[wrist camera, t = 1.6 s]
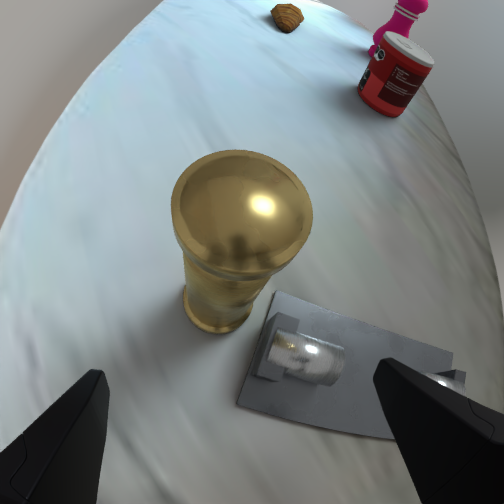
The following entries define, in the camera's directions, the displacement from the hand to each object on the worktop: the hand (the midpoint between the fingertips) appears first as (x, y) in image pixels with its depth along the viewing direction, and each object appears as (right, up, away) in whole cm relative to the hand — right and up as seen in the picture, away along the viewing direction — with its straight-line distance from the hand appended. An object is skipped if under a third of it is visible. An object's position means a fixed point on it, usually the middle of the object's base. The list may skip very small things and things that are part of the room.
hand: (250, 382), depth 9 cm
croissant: (+7, +49, +38) cm, 62 cm away
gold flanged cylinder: (-2, 0, +13) cm, 14 cm away
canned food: (+19, +27, +30) cm, 44 cm away
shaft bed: (+9, -6, +13) cm, 17 cm away
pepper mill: (+26, +42, +38) cm, 63 cm away
